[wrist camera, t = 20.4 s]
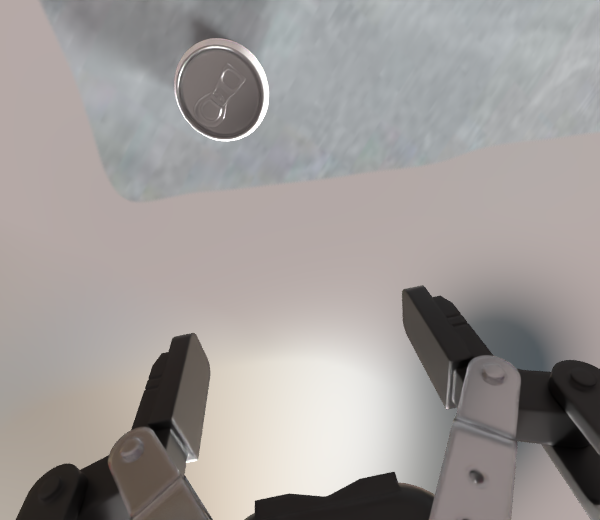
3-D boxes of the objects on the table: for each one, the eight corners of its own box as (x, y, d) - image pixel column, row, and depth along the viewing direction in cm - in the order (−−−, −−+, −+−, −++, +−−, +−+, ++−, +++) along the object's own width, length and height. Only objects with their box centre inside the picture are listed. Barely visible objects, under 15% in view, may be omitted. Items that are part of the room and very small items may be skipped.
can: (181, 88, 32) (149, 103, 22) (219, 25, 30) (204, 8, 20) (238, 133, 35) (234, 165, 25) (277, 78, 33) (290, 87, 23)
